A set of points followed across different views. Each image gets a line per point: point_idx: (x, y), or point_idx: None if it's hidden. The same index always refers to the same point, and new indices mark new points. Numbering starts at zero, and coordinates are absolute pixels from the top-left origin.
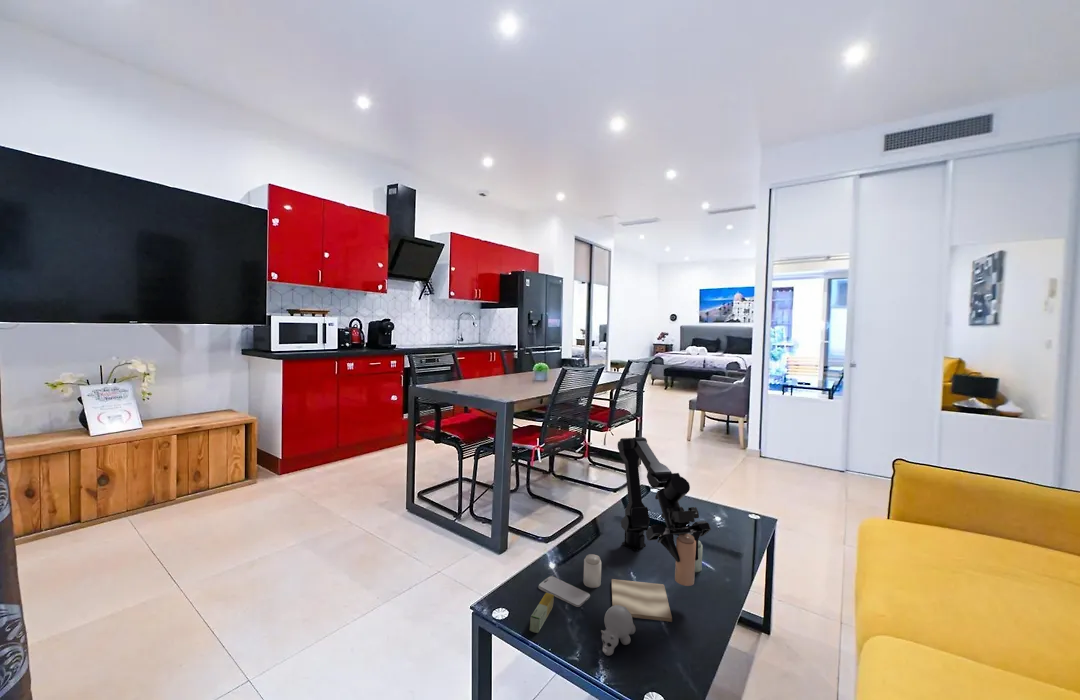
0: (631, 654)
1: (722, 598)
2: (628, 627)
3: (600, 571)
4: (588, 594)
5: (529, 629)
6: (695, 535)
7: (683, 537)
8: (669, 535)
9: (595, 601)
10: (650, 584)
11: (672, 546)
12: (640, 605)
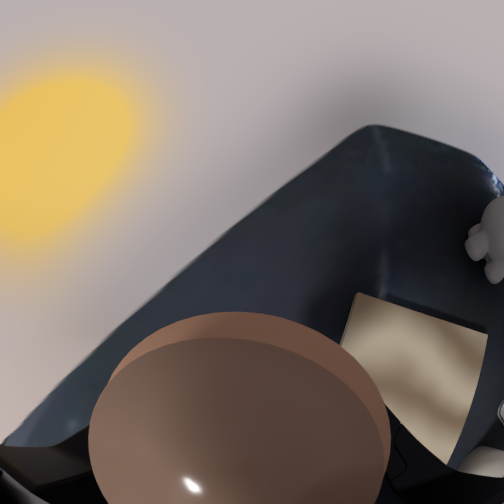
0: (464, 209)
1: None
2: (495, 198)
3: (487, 468)
4: (502, 411)
5: None
6: (53, 471)
7: (299, 482)
8: (488, 495)
9: (496, 389)
10: None
11: (410, 437)
12: (423, 361)
